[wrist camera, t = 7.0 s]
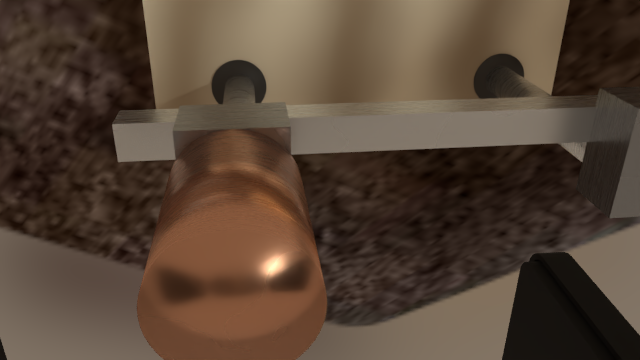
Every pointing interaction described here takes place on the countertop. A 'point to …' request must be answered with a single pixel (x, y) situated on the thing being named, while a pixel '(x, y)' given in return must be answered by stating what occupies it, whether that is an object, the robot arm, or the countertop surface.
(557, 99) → the frame
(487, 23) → the board
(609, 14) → the countertop surface
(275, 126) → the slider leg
